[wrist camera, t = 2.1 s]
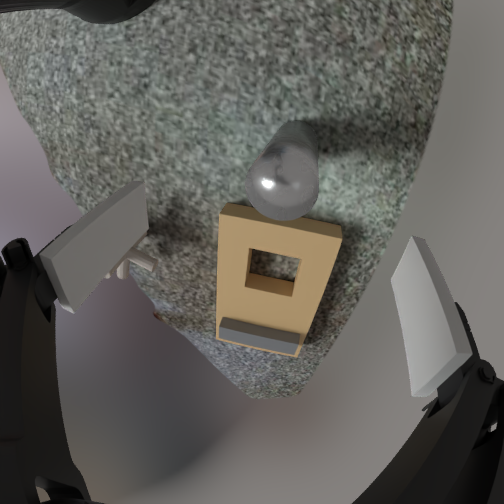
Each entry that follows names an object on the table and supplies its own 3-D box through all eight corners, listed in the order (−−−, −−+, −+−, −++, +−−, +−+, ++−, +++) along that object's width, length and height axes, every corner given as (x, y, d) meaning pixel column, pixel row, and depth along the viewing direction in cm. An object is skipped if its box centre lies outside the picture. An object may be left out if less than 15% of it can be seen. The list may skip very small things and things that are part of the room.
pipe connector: (177, 218, 36) (139, 262, 28) (165, 268, 42) (135, 312, 34) (118, 191, 35) (73, 226, 28) (114, 242, 41) (78, 280, 34)
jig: (227, 202, 33) (213, 222, 29) (340, 225, 32) (343, 249, 28) (221, 326, 47) (212, 348, 44) (298, 343, 46) (295, 367, 42)
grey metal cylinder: (278, 117, 26) (248, 146, 15) (320, 124, 25) (325, 161, 14) (273, 155, 29) (242, 213, 17) (313, 163, 28) (310, 227, 17)
